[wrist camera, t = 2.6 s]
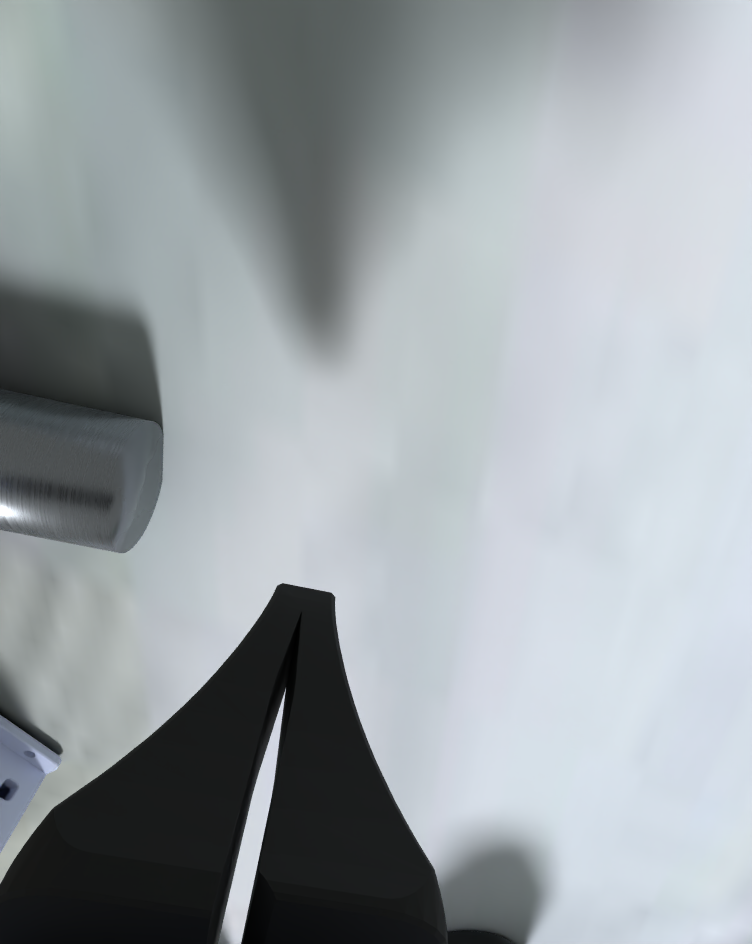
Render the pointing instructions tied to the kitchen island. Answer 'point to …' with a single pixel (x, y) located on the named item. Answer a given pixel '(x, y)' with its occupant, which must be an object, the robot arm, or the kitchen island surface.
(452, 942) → the supplement bottle
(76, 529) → the axle
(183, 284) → the kitchen island surface
